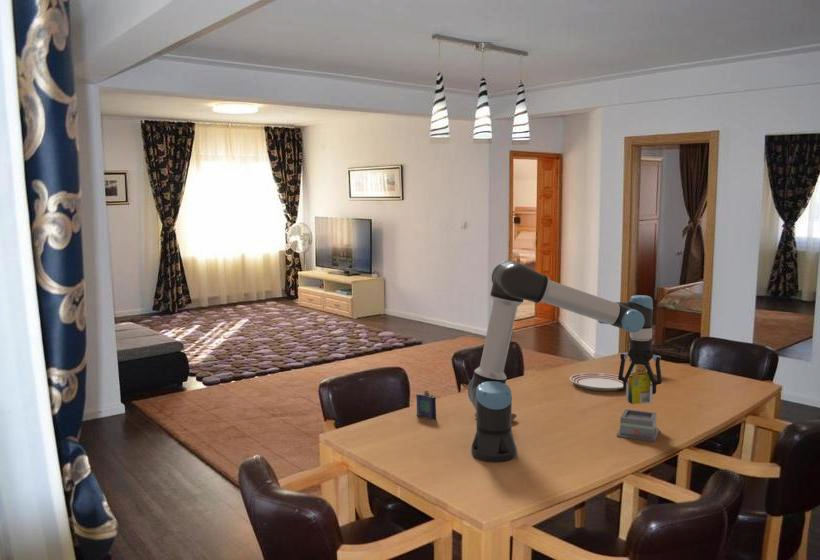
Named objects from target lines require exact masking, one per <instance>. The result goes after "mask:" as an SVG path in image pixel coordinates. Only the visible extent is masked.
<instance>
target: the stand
mask: <svg viewBox="0 0 820 560" xmlns="http://www.w3.org/2000/svg"><path fill="white" fill-rule="evenodd" d="M657 417H658V416H657V412H653V411H646V410H645V411H644V410H636V409H628V408H625V409H624V411H623V413H622V414H621V416H620V420H619V421H620V422H619V425H620V426H619V429H618V431H617V433H616V437H617V438H625V439H633V440H637V441H638V440H640V441H646V442H653V443H656V440H657V438H658V435H659V432H660V428H659V427H657Z"/></svg>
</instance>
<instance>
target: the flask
mask: <svg viewBox="0 0 820 560" xmlns="http://www.w3.org/2000/svg"><path fill="white" fill-rule="evenodd" d="M415 395H416V396H415V397H416V416H417V417H422V418H424V417H426V419H429V420H433V419H435V420H436V419H437V407H436V406H437V403H436V401H437V400H436V399H437V398H436V396H435V395H433V394H430V392H429V390H424V391H423V392H421V393H420V392H417V393H416V394H415Z"/></svg>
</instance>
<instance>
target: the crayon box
mask: <svg viewBox="0 0 820 560" xmlns="http://www.w3.org/2000/svg"><path fill="white" fill-rule="evenodd" d="M628 379H629V395H628V401H627V402H628V403H629V404H631V405H640V404H651V403H650V385H651V384H652V382H651V380H650V377H649V375H648V372H647V371H646V372H636V373H632V374H631V375H630V376H629V378H628Z"/></svg>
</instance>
